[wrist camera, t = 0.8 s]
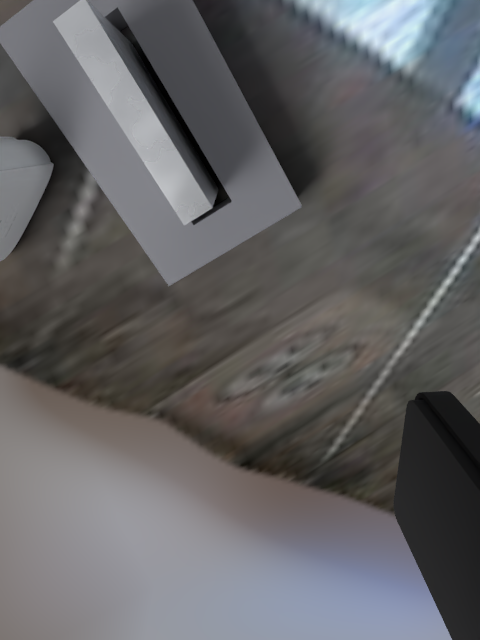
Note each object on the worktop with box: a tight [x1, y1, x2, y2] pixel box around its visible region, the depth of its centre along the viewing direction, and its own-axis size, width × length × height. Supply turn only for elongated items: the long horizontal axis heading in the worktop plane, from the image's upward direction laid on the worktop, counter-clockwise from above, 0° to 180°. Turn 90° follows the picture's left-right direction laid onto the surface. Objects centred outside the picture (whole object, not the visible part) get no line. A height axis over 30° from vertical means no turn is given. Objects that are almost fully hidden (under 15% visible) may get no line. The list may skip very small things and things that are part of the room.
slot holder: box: [0, 0, 302, 286], centre depth 32 cm, size 12×20×4 cm, turn 31°
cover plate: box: [53, 0, 219, 225], centre depth 29 cm, size 2×12×11 cm, turn 31°
